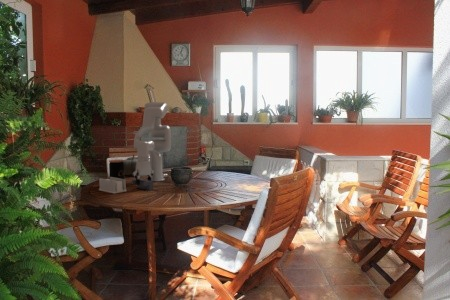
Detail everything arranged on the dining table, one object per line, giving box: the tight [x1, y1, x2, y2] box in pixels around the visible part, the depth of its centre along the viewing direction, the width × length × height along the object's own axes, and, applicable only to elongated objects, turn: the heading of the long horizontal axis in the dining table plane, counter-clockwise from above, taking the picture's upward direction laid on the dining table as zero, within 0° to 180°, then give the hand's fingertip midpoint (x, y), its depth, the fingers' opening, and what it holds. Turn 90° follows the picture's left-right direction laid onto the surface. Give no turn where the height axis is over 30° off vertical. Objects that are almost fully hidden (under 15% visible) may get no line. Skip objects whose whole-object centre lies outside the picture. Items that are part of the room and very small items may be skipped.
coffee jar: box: [108, 158, 126, 179], centre depth 299 cm, size 11×11×18 cm
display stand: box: [98, 176, 128, 194], centre depth 278 cm, size 10×18×8 cm, turn 48°
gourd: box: [123, 154, 138, 177], centre depth 345 cm, size 25×25×17 cm
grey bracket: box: [131, 178, 154, 191], centre depth 283 cm, size 7×14×6 cm, turn 48°
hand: (143, 183), depth 283 cm, fingers open, 9 cm apart
